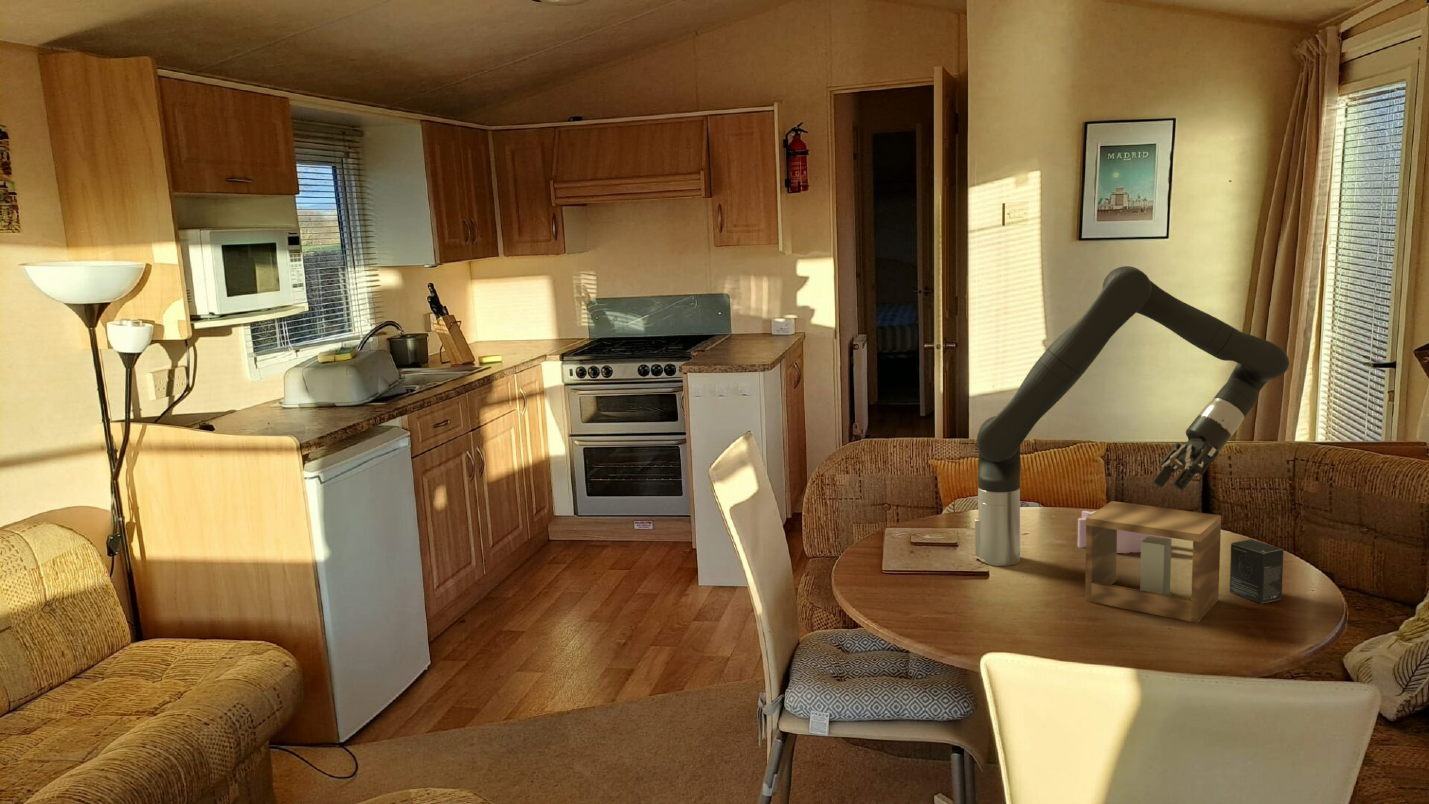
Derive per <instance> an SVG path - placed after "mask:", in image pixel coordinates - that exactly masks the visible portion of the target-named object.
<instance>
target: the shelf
mask: <svg viewBox="0 0 1429 804" xmlns="http://www.w3.org/2000/svg"><path fill="white" fill-rule="evenodd" d="M1095 511H1096V512H1094V513H1093V514H1091V515H1090V516H1088V517H1087V518H1086V547H1085V590H1084V591H1085V594H1084V595H1085V598H1084V599H1085V600H1084V601H1085V602H1089V603H1094V604H1100V605H1104V606H1110V607H1114V608H1120V609H1126V610H1131V611H1135V612H1141V613H1145V614H1150V615H1156V616H1160V617H1164V618H1165V617H1167V618H1170V619H1171V618H1172V619H1176V620H1181V621H1184V622H1185V621H1187V622H1192V623H1197V624H1198V623H1199V622H1200V621H1201V620H1202V619H1203V617H1205V615H1206V614H1207V613H1208V612H1209V611H1210V610H1211V609H1212V607H1214V605H1215V604H1216V603H1217V602H1218V601H1219V599H1220V598H1219V596H1220V595H1219V593H1220V592H1219V589H1220V565H1221V564H1220V562H1221V561H1220V559H1221V531H1222V529H1221V528H1222V515H1220V514H1213V513H1206V512H1205V513H1204V512H1198V511H1189V510H1182V509H1175V508H1166V507H1159V506H1154V505H1153V506H1152V505H1145V504H1137V503H1129V502H1123V501H1122V502H1120V501H1114V500H1111V501H1110V502H1108V503H1106V504H1105V505H1104V506H1102V507H1101V508H1099V509H1097V510H1095ZM1117 530H1122V531H1129V532H1135V533H1142V534H1149V535H1155V536H1162V537H1169V538H1172V539H1177V540H1184V541H1191V542H1192V563H1191V565H1192V568H1191V569H1192V571H1191V598H1185V597H1180V596H1175V595H1171V594H1170V595H1165V594H1159V593H1154V592H1148V591H1143V590H1140V589H1137V588H1131V587H1126V586H1121V585H1117V584H1116V585H1115V583H1116V582H1117V557H1118V555H1117ZM1217 600H1218V601H1217ZM1201 618H1202V619H1201ZM1199 620H1200V621H1199Z"/></svg>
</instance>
